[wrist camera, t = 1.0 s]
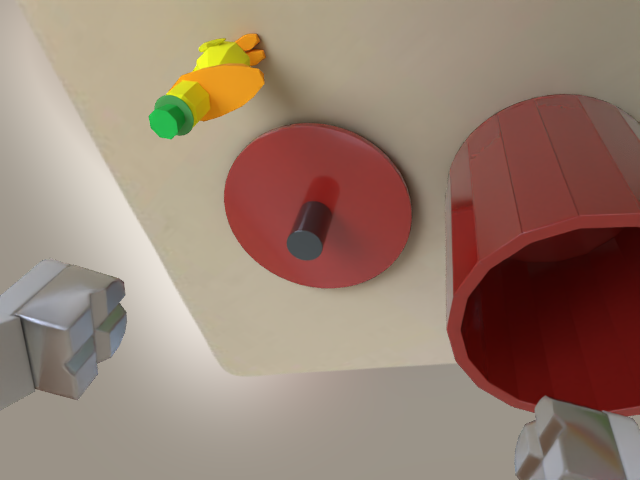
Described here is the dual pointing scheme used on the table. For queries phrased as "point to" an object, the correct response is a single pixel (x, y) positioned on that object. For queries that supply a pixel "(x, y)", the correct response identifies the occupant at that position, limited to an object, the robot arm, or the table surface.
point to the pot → (547, 254)
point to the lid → (318, 205)
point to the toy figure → (210, 86)
